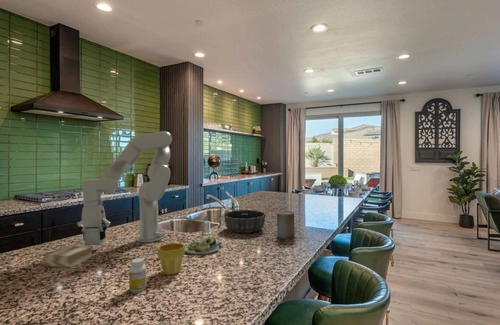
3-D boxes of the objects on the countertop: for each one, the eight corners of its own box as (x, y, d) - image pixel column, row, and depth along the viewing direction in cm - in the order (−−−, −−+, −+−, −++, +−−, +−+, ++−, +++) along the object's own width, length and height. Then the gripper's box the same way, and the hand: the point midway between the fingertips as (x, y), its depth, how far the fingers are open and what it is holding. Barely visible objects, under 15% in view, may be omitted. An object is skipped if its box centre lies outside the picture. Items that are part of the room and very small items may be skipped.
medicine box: (105, 242, 139) (104, 225, 138) (99, 245, 134) (98, 228, 134) (90, 242, 139) (89, 225, 139) (84, 245, 135) (83, 228, 135)
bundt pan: (251, 238, 154) (251, 220, 154) (214, 231, 168) (214, 215, 168) (273, 227, 177) (273, 212, 177) (239, 223, 191) (239, 208, 191)
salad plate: (220, 257, 125) (220, 247, 125) (180, 258, 125) (180, 248, 125) (222, 244, 145) (222, 235, 144) (188, 244, 144) (188, 236, 144)
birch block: (91, 257, 126) (91, 246, 126) (70, 268, 114) (70, 256, 114) (68, 256, 128) (68, 245, 128) (45, 266, 116) (45, 254, 116)
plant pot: (163, 266, 114) (162, 242, 114) (188, 266, 114) (187, 242, 114) (153, 276, 104) (153, 250, 104) (181, 276, 104) (180, 250, 104)
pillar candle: (294, 234, 160) (293, 208, 160) (295, 239, 151) (294, 211, 151) (277, 234, 161) (276, 208, 161) (277, 239, 152) (276, 211, 152)
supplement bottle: (132, 285, 97) (132, 257, 97) (148, 284, 98) (147, 257, 98) (127, 292, 92) (126, 263, 92) (143, 291, 92) (143, 262, 92)
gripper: (113, 202, 139) (115, 236, 139) (81, 202, 141) (83, 236, 141) (104, 205, 131) (106, 241, 132) (70, 205, 133) (72, 241, 134)
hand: (94, 238), depth 136 cm, fingers closed on medicine box, 8 cm apart
